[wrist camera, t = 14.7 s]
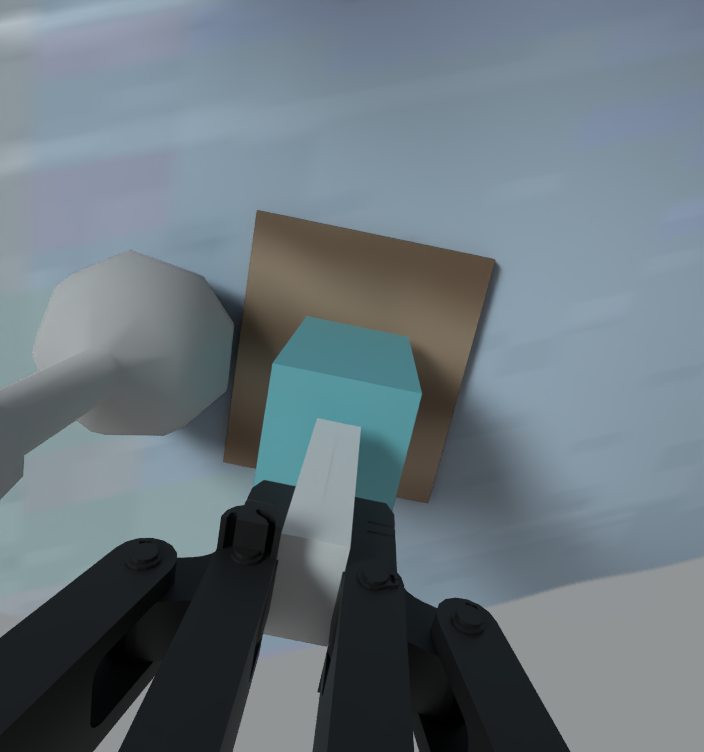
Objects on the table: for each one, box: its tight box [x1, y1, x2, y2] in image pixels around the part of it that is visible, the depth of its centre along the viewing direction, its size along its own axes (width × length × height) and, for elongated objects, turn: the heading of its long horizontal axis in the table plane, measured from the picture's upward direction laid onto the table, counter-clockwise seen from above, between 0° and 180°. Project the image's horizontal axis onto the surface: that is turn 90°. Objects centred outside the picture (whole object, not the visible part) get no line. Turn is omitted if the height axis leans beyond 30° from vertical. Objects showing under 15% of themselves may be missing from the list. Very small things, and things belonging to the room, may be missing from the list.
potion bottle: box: [0, 250, 234, 499], centre depth 20 cm, size 9×9×18 cm
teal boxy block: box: [253, 316, 422, 511], centre depth 22 cm, size 5×5×9 cm
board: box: [223, 210, 495, 503], centre depth 28 cm, size 14×12×1 cm
